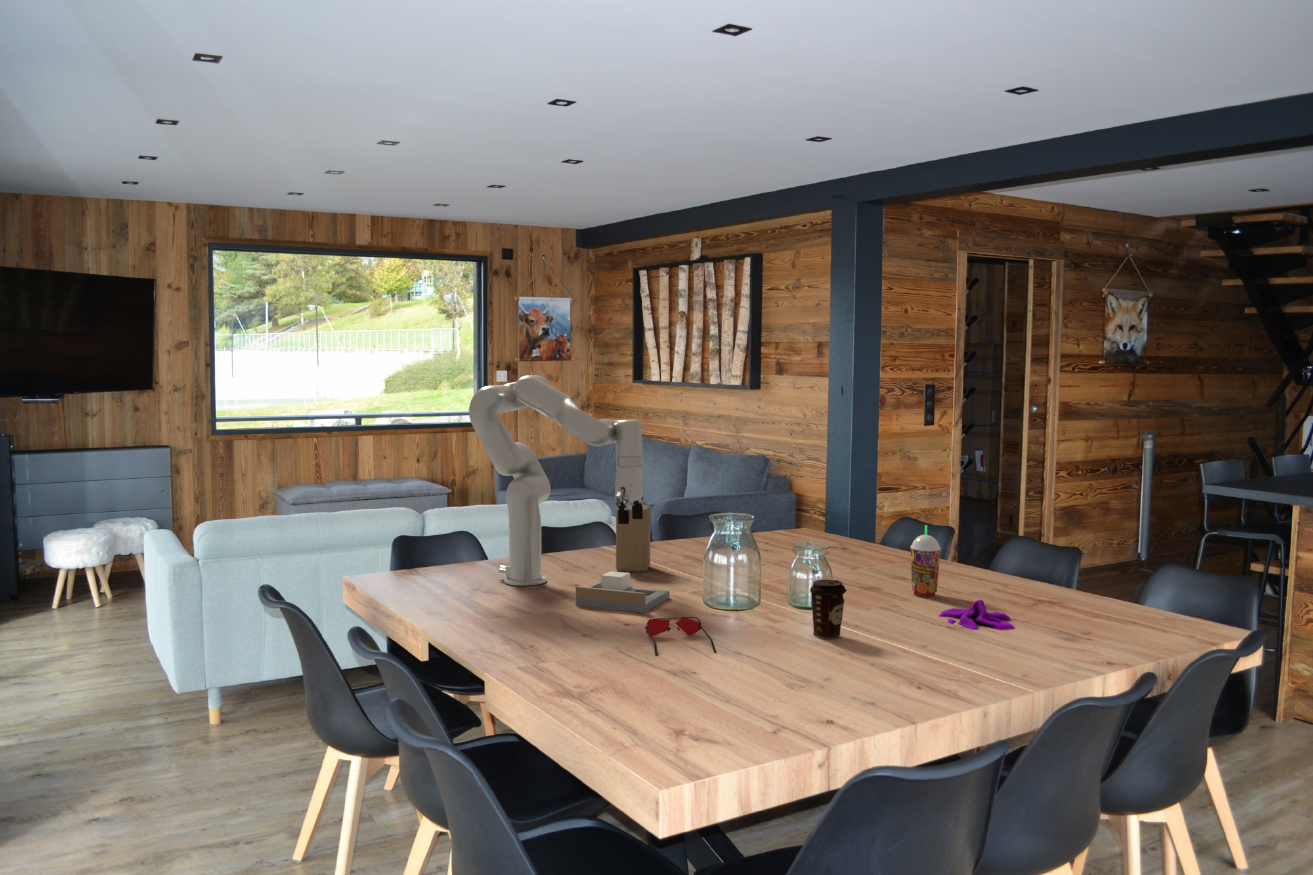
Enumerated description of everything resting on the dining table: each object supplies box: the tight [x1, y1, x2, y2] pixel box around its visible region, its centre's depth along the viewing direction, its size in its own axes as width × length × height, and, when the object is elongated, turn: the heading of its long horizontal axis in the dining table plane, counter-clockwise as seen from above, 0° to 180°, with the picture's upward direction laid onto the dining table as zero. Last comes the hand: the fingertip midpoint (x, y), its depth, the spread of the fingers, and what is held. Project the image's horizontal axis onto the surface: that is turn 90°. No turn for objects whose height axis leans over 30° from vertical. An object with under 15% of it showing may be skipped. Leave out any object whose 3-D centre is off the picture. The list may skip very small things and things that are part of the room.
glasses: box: [644, 616, 717, 657], centre depth 227 cm, size 14×16×5 cm
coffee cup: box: [809, 579, 847, 640], centre depth 235 cm, size 9×8×13 cm
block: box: [615, 504, 651, 573], centre depth 312 cm, size 10×10×20 cm
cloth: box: [938, 599, 1016, 631], centre depth 249 cm, size 22×19×6 cm
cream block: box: [601, 570, 631, 591], centre depth 276 cm, size 6×6×4 cm
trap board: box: [575, 580, 670, 613], centre depth 269 cm, size 20×18×5 cm
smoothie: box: [909, 524, 942, 598], centre depth 278 cm, size 8×8×20 cm
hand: (630, 521), depth 284 cm, fingers open, 9 cm apart
